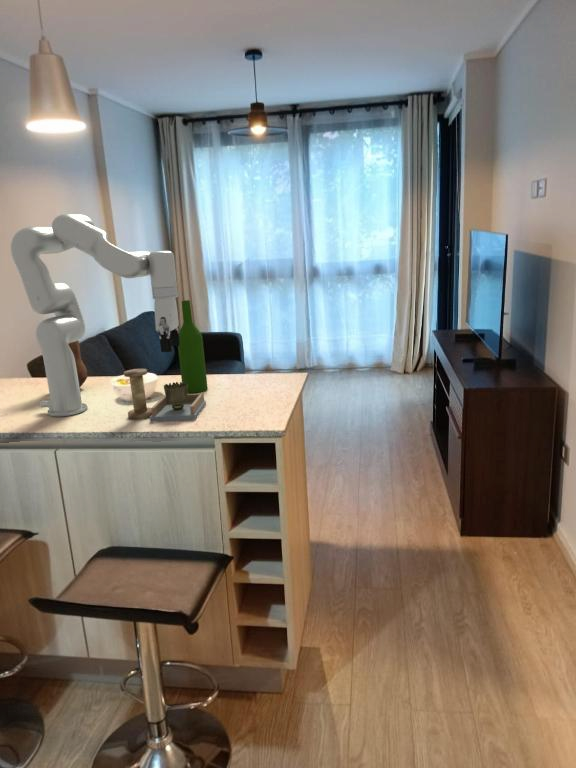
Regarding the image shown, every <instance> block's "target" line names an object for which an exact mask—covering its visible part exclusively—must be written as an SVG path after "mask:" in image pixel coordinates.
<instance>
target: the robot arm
mask: <svg viewBox="0 0 576 768" xmlns="http://www.w3.org/2000/svg"><path fill="white" fill-rule="evenodd" d="M73 248H76V249H77V250H79V251H81V252H83V253H84V254H87V255H88V256H90V257H92V258H93V260H95V262H97V264H98V265H99V266H100V267H102V268H104V269H105V270H107V271H109V272H111V273H113V274H115V275H117V276H119V277H122V278H125V279H136V278H142V277H143V278H144V277H148V276H150V285H151V293H152V299H153V300H154V306H153V307H154V323H155V324H154V325H155V331H156V332H157V333H158V334H159V342H160V343H159V344H160V350H161V351H160V352H161V353H171V352H173V348H172V347H178V346H179V345H180V339H179V331H180V329H179V328H178V327H179V325H180V324H179V313H178V306H177V299H176V298H179V293H178V292H179V291H178V283H177V272H176V262H175V255H174V253H173V252H172V251H170V250H159V251H158V250H157V251H147V250H146V251H144V250H143V251H142V250H141V251H140V250H138V251H129V252H128V251H125V250H123V249H122V248H119V247H118V246H115V245H114V244H112V243H111V242H110V240H109V234H108V233H107V232H106V231H105V230H103V229H101V228H99V227H98V226H97V227H96V225H95V223H94V222H93V220H91V218H90V217H89V216H86V215H84V214H79V213H64V214H59V215H57V216H56V217H55V218H53V220H52V223H51V226H27V227H24V228H21V229H20V230H18V231H16V233H15V234H14V235H13V237H12V240H11V243H10V253H11V256H12V260H13V262H14V265H15V266H16V268H17V270H18V273H19V276H20V278H21V281H22V284H23V288H24V291H25V293H26V296H27V299H28V301H29V304H30V306H31V309H32V310H33V311H34V312H35V313H36V314H39V315H49V314H54V315H55V316H52V317H49V318H48V317H47V318H45V319H44V320H42V321H41V322H39V323H38V325H37V326H36V329H35V337H36V340H37V343H38V346H39V348H40V351H41V354H42V357H43V358H42V359H43V364H44V369H45V377H46V381H47V385H48V392H49V398H50V399H48V400H41V401H40V403H39V404H40V408H48V410H47V412H46V413H47V415H48V416H50V417H56V418H59V417H69V416H75V415H77V414H81V413H83V412H85V411H87V410H88V405H87V404H86V403H83V402H82V395H81V387H80V388H79V381H78V375H77V369H76V363H75V358H74V354H73V352H72V350H71V349H70V347H69V345H68V344H69V343H72V342H75V341H78V340H79V341H80V340H81V339H82V338H83V337H84V335H85V333H86V326H85V325H86V324H85V320H84V318H83V315H82V311H81V308H80V305H79V302H78V300H77V299H78V298H77V297H76V294H75V292H74V290H73V289H72V288H71V287H70V286H69V285H67V284H66V283H64V282H53V280H52V278H51V275H50V272H49V271H50V270H49V268H48V266H47V264H45V262H44V261H43V260H42V259H41V258H40V255H52V254H54V255H55V254H60V253H63V252H66V251H68V250H71V249H73Z"/></svg>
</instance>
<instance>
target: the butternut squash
mask: <svg viewBox="0 0 576 768" xmlns="http://www.w3.org/2000/svg"><path fill="white" fill-rule="evenodd" d="M68 345H69V347H70V349H71V350H72V352H73V354H74V358H75V363H76V369H77V375H78V381H79V388H80V389H81V387H82V386H83V385H84V383H85V382H86V380H87V378H88V370H87V367H86V365H85V364H84V361H83V360H82V356H81V346H80V340H78V341H75V342H72V343H69V344H68Z"/></svg>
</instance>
